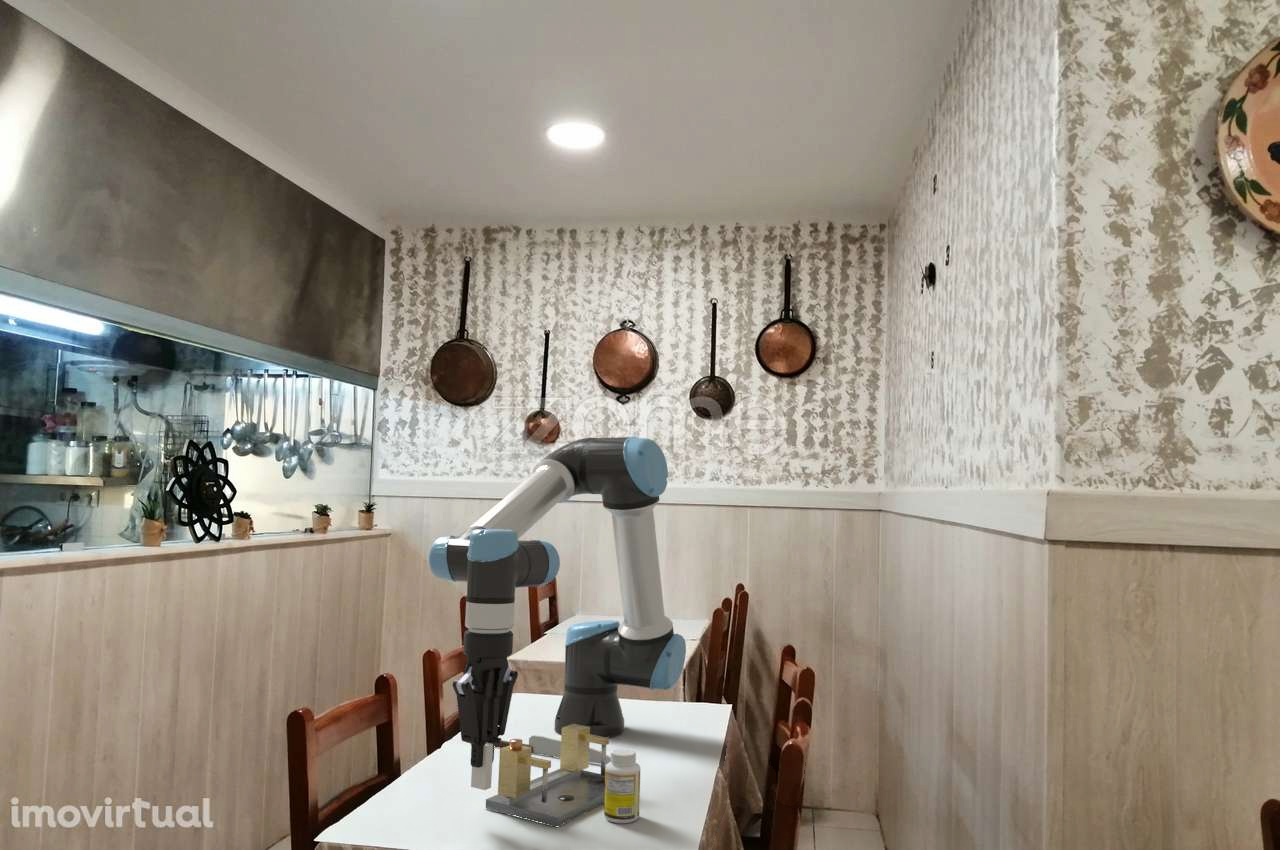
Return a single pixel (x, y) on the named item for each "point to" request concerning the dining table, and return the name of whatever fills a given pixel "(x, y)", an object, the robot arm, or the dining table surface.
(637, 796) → the supplement bottle
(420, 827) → the dining table surface
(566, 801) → the bolt plate
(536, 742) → the kitchen knife
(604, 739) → the fixed leg
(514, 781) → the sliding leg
